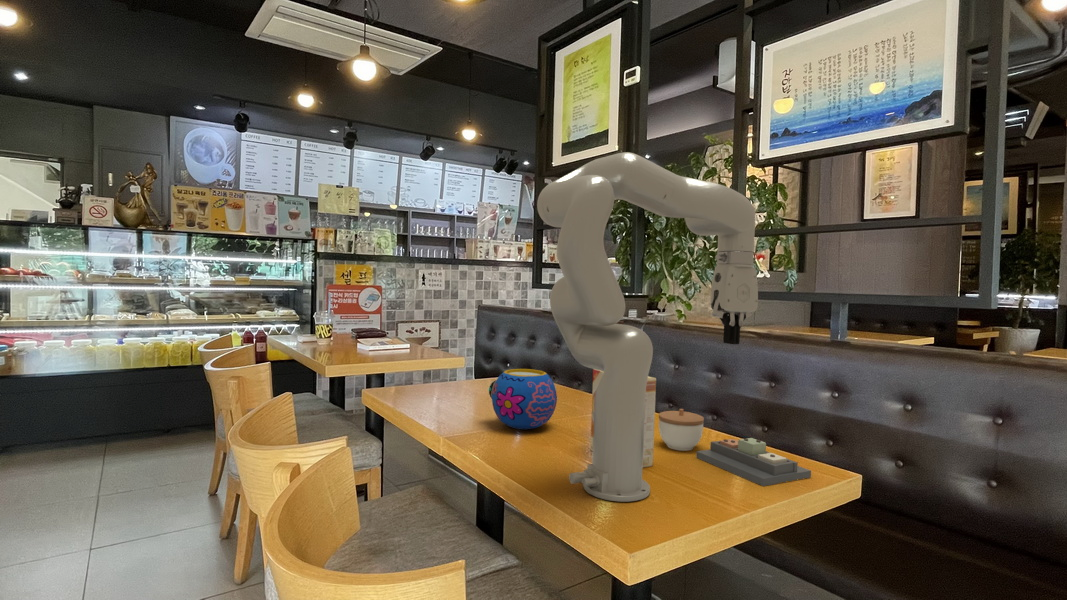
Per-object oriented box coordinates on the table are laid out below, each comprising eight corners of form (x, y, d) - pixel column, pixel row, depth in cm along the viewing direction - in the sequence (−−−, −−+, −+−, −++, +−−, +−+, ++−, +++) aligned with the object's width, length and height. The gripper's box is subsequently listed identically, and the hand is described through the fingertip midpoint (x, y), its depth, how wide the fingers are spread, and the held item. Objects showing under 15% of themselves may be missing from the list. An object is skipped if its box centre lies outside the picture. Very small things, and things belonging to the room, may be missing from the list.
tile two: (752, 455, 119) (752, 443, 119) (738, 450, 122) (738, 438, 122) (765, 453, 121) (766, 441, 121) (751, 448, 124) (751, 436, 124)
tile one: (773, 471, 114) (773, 459, 114) (757, 465, 118) (758, 453, 117) (786, 469, 116) (787, 456, 116) (770, 463, 119) (771, 451, 119)
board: (763, 486, 110) (763, 469, 110) (696, 457, 127) (697, 442, 127) (810, 477, 116) (811, 461, 116) (741, 451, 133) (741, 437, 133)
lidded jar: (692, 457, 128) (694, 416, 127) (650, 447, 134) (651, 409, 134) (709, 446, 136) (710, 409, 136) (668, 438, 143) (669, 402, 142)
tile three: (732, 456, 124) (733, 444, 124) (719, 450, 127) (719, 439, 127) (745, 454, 126) (746, 442, 126) (732, 449, 129) (732, 437, 129)
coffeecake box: (588, 450, 130) (591, 368, 129) (613, 447, 133) (616, 366, 133) (627, 470, 117) (631, 379, 116) (654, 466, 120) (657, 377, 119)
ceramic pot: (527, 416, 161) (529, 365, 161) (569, 430, 147) (571, 374, 147) (477, 424, 150) (479, 369, 149) (517, 440, 136) (519, 379, 136)
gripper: (722, 258, 115) (718, 346, 116) (773, 262, 121) (769, 345, 122) (696, 259, 122) (693, 342, 122) (746, 262, 128) (742, 341, 129)
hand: (731, 343), depth 122 cm, fingers closed
